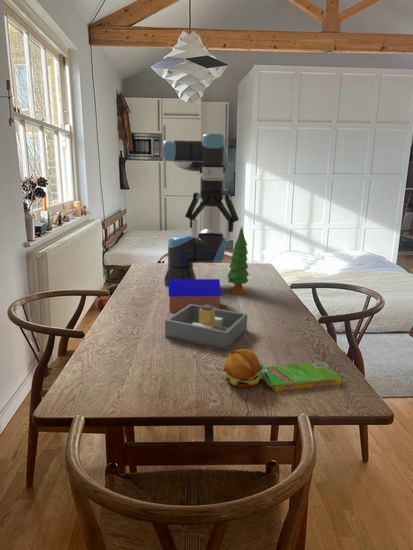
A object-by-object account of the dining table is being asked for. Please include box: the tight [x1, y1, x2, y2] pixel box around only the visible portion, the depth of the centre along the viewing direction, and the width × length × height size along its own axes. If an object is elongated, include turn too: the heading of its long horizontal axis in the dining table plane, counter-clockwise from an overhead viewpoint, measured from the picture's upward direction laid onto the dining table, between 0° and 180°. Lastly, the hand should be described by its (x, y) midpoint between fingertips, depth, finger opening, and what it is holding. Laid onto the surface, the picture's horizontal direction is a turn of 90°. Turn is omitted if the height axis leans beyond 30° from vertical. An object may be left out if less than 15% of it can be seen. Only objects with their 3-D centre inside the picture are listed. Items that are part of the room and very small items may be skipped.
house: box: [168, 278, 222, 313], centre depth 165 cm, size 12×20×12 cm, turn 95°
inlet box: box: [164, 304, 248, 351], centre depth 140 cm, size 22×18×6 cm
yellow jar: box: [199, 304, 215, 329], centre depth 139 cm, size 4×4×9 cm
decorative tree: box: [227, 226, 250, 295], centre depth 182 cm, size 10×9×30 cm
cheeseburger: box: [222, 348, 264, 388], centre depth 110 cm, size 10×11×10 cm
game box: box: [260, 361, 342, 392], centre depth 112 cm, size 3×10×20 cm
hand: (210, 238), depth 153 cm, fingers open, 13 cm apart
